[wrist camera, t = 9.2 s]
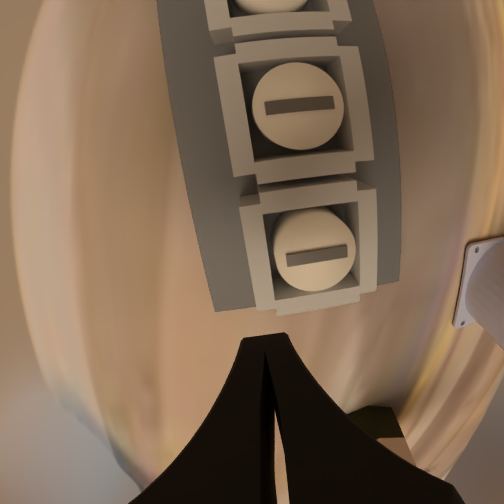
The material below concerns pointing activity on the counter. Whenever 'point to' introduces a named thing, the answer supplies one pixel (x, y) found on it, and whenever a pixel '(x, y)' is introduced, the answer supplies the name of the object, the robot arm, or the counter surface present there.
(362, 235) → the mount board
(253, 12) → the knob
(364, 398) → the counter surface
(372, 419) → the wine bottle
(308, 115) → the knob
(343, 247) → the knob
